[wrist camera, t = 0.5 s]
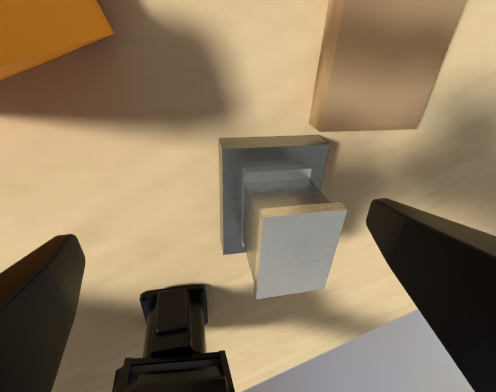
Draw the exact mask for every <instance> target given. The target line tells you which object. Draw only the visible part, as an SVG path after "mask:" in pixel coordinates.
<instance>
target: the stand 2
mask: <svg viewBox="0 0 496 392" xmlns="http://www.w3.org/2000/svg"><path fill="white" fill-rule="evenodd" d="M465 2H466V0H329V5H328V11H327V17H326V23H325V29H324V35H323V41H322V47H321V53H320V59H319V65H318V71H317V77H316V83H315V89H314V96H313V102H312V108H311V114H310V120H309V123H310V124H311V125H312V126H313V127H315V128H316V129H317V130H318V131H320V132H328V131H360V130H391V129H416V128H417V126H418V123H419V121H420V118H421V116H422V113H423V110H424V108H425V105H426V103H427V100H428V98H429V95H430V92H431V90H432V87H433V85H434V82H435V80H436V77H437V74H438V72H439V69H440V67H441V64H442V62H443V59H444V56H445V54H446V51H447V49H448V46H449V44H450V41H451V38H452V36H453V33H454V31H455V28H456V26H457V23H458V20H459V18H460V15H461V13H462V10H463V8H464V5H465Z"/></svg>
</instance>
